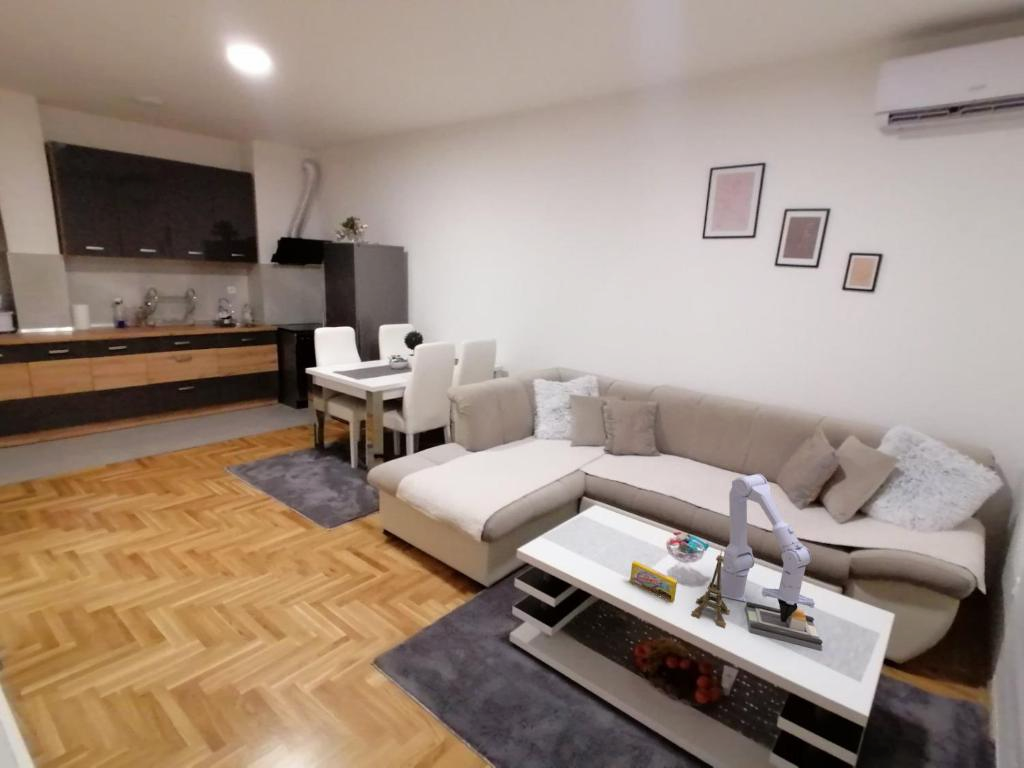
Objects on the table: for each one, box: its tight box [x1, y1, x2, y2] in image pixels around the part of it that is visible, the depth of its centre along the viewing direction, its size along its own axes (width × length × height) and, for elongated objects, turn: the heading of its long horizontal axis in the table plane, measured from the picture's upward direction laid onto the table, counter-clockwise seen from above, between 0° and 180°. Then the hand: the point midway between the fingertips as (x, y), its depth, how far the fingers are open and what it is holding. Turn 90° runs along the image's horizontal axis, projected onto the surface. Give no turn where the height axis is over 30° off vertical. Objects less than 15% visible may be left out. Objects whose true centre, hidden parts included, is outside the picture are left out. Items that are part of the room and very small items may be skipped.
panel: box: [744, 601, 824, 651], centre depth 164 cm, size 20×13×3 cm, turn 72°
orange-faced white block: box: [787, 608, 807, 632], centre depth 162 cm, size 4×5×4 cm
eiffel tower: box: [690, 549, 731, 629], centre depth 166 cm, size 11×11×25 cm
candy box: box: [629, 560, 678, 603], centre depth 177 cm, size 16×2×8 cm, turn 49°
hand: (782, 620), depth 163 cm, fingers closed
